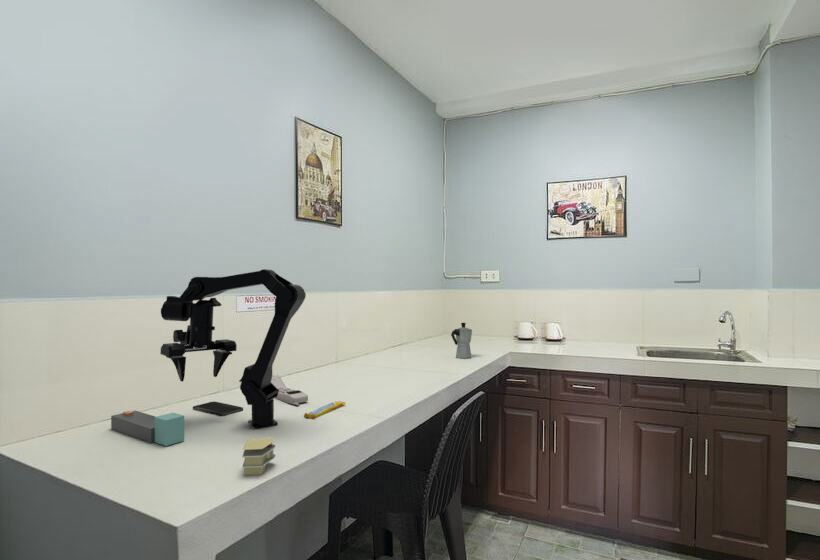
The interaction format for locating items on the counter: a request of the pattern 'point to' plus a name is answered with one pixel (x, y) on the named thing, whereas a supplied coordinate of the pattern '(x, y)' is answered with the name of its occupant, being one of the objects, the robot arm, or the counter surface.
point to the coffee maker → (462, 341)
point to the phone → (218, 408)
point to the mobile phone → (288, 392)
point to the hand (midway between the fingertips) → (198, 378)
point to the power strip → (135, 425)
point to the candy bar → (324, 410)
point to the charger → (169, 429)
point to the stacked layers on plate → (257, 455)
